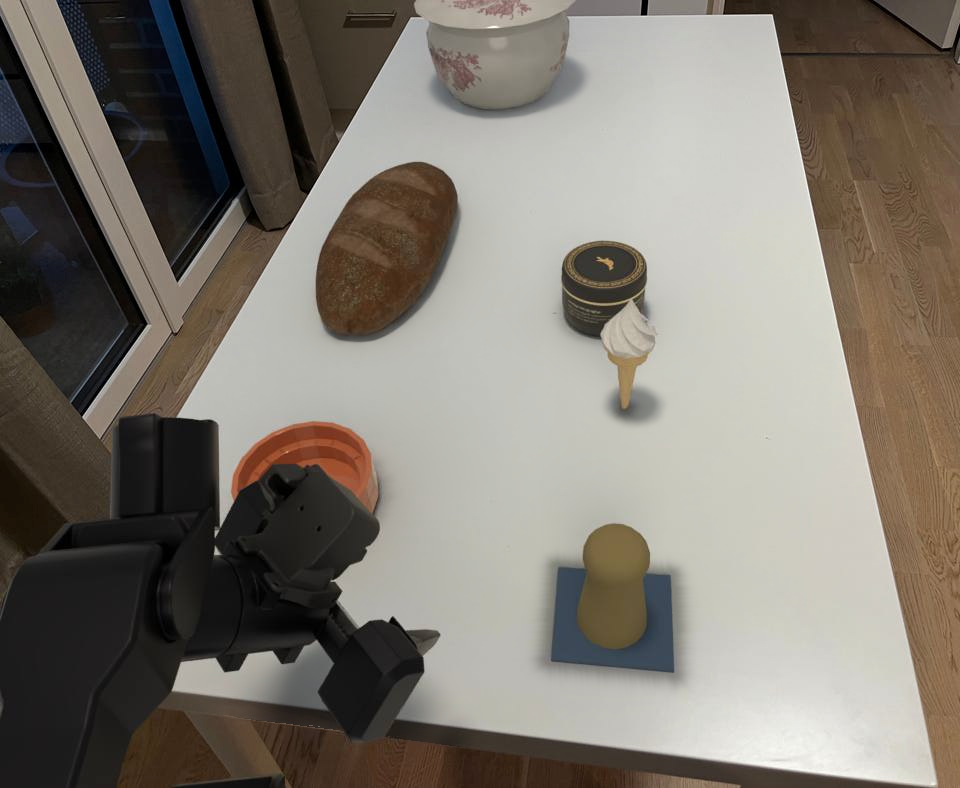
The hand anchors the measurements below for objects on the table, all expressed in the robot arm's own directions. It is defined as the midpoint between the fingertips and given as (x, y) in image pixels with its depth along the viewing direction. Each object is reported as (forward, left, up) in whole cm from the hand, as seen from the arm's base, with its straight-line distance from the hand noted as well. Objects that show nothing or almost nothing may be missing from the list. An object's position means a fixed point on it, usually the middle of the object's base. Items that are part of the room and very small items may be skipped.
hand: (398, 594), depth 57 cm
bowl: (+11, +19, -13) cm, 26 cm away
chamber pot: (+102, +44, -13) cm, 111 cm away
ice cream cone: (+36, -4, -13) cm, 38 cm away
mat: (+12, -12, -13) cm, 21 cm away
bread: (+50, +35, -13) cm, 63 cm away
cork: (+11, -12, -12) cm, 21 cm away
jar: (+50, +4, -13) cm, 51 cm away
